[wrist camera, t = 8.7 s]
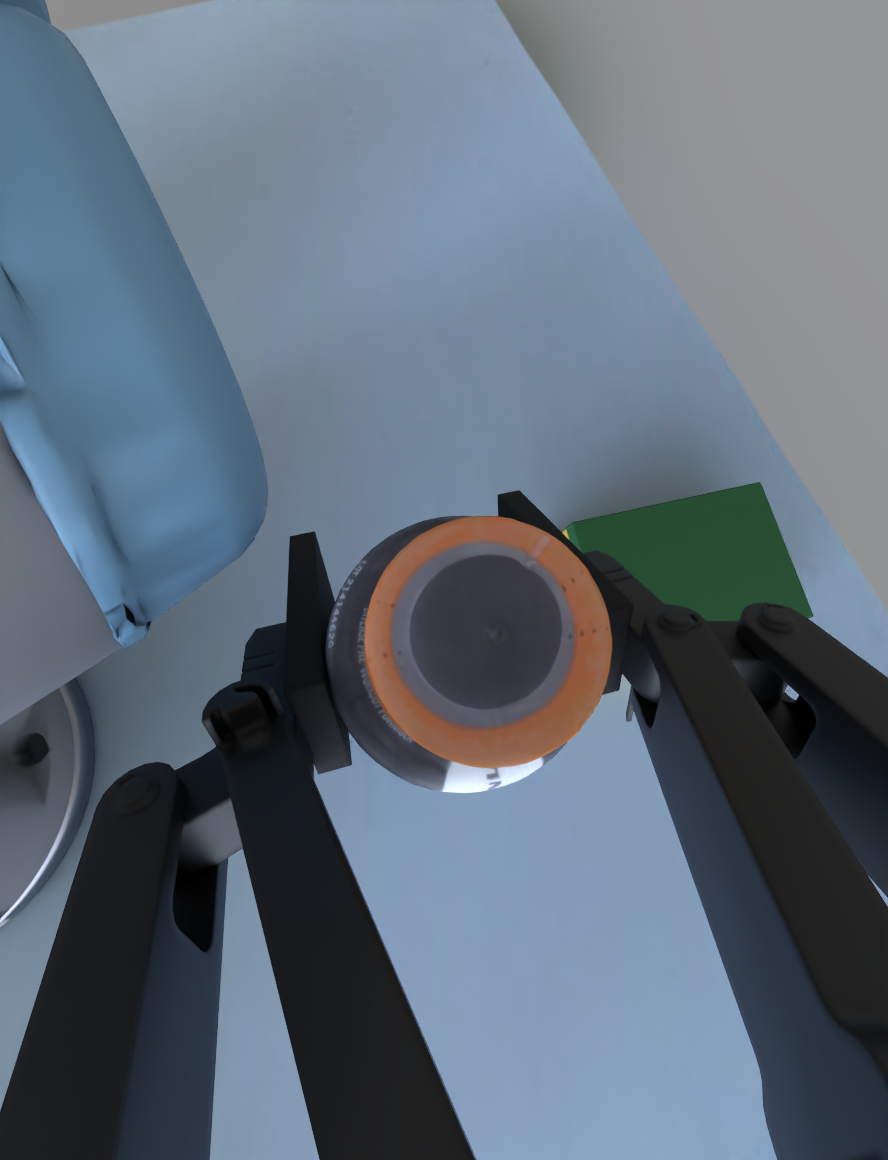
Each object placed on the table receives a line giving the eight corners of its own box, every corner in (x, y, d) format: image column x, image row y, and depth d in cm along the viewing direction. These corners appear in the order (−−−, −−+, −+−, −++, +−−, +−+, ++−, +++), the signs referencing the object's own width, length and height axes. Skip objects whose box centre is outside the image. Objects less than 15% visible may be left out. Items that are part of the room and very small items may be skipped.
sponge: (590, 671, 25) (617, 670, 22) (551, 540, 26) (571, 522, 23) (767, 623, 27) (814, 616, 24) (721, 502, 28) (760, 481, 25)
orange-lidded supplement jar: (500, 749, 18) (678, 867, 7) (343, 733, 17) (256, 833, 6) (512, 595, 19) (677, 482, 8) (366, 576, 19) (327, 429, 8)
